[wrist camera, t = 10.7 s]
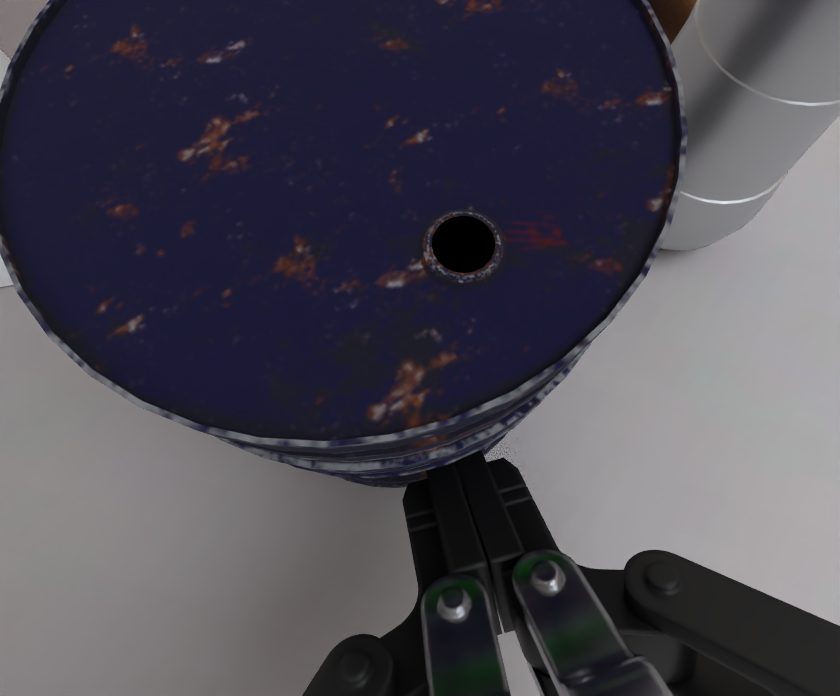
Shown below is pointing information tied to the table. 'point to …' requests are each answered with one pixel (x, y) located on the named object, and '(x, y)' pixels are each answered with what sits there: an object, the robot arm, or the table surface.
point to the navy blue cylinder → (338, 210)
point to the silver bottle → (750, 106)
